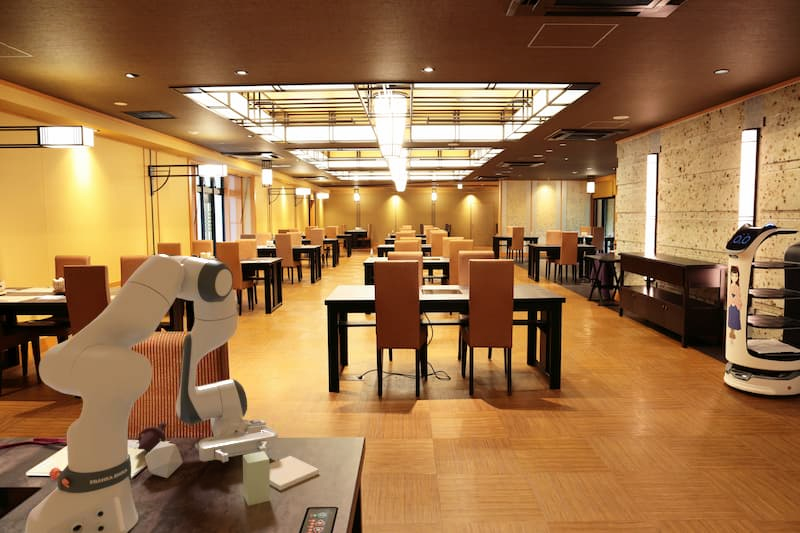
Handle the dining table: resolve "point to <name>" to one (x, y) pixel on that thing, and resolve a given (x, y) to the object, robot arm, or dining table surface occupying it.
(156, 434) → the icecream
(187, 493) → the dining table surface
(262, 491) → the green block
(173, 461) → the die
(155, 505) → the dining table surface
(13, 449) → the dining table surface
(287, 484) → the cream tile
